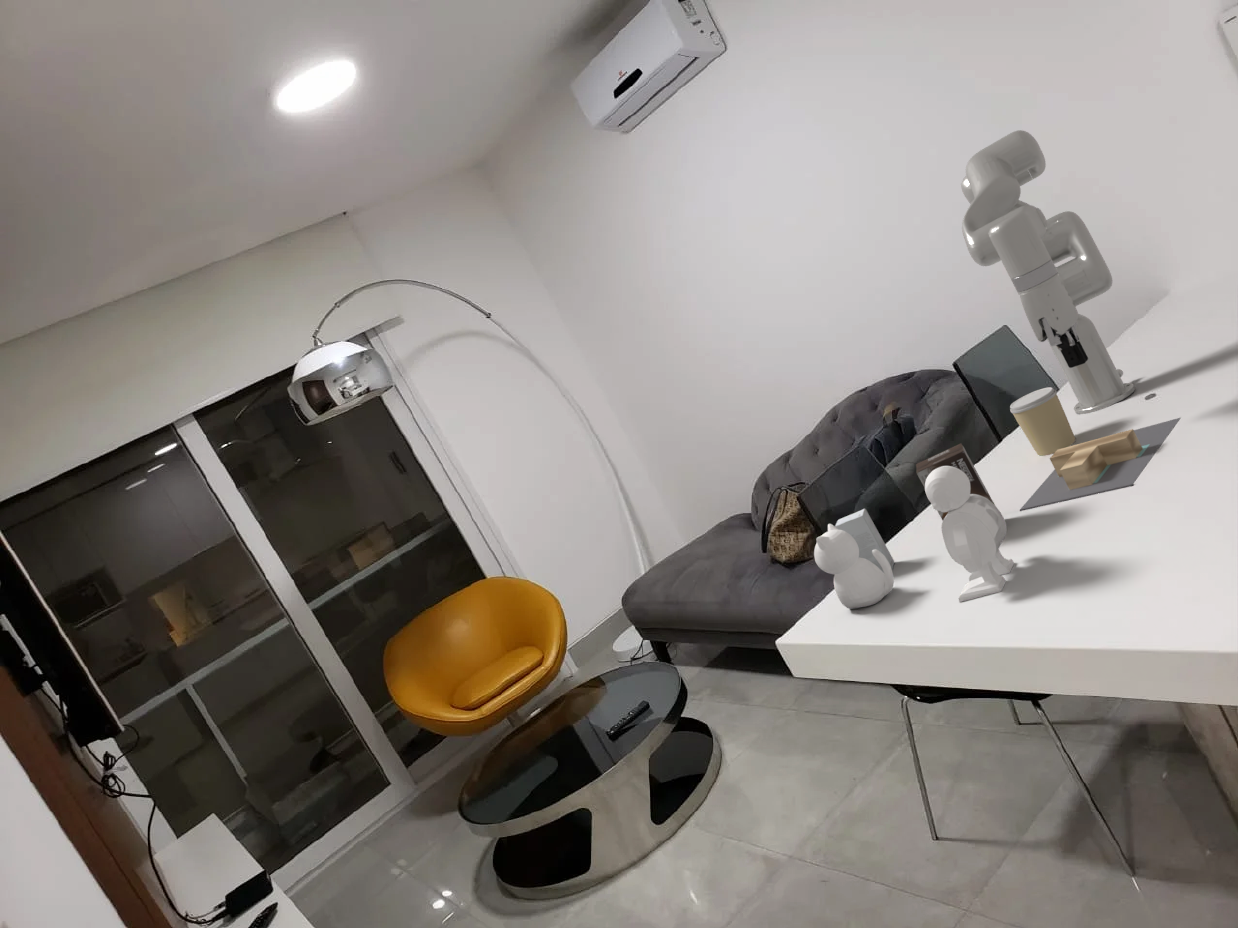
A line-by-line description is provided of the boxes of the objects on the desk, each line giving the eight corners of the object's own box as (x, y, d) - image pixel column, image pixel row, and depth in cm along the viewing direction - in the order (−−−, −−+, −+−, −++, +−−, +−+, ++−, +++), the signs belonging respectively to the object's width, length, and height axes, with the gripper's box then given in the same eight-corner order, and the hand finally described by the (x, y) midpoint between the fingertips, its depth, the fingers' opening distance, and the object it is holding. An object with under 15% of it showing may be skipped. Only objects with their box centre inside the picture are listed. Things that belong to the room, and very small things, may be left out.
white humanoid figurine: (977, 567, 147) (922, 461, 145) (1031, 553, 141) (973, 443, 139) (956, 607, 136) (896, 494, 135) (1012, 594, 130) (950, 476, 129)
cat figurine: (850, 596, 165) (813, 526, 164) (911, 579, 157) (872, 506, 156) (834, 620, 158) (795, 547, 157) (897, 603, 150) (856, 526, 149)
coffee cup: (1069, 435, 187) (1043, 385, 187) (1088, 439, 178) (1061, 387, 177) (1027, 456, 189) (1002, 406, 188) (1044, 461, 180) (1017, 409, 179)
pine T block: (1066, 468, 168) (1057, 449, 168) (1142, 448, 157) (1132, 429, 157) (1043, 496, 161) (1033, 476, 160) (1121, 477, 150) (1110, 457, 149)
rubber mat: (1075, 447, 178) (1074, 446, 178) (1181, 419, 162) (1180, 417, 162) (1020, 510, 161) (1019, 509, 161) (1133, 485, 145) (1132, 484, 145)
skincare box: (895, 561, 170) (866, 507, 169) (892, 570, 166) (863, 514, 165) (866, 572, 173) (837, 519, 172) (863, 581, 169) (833, 526, 168)
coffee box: (1003, 518, 162) (962, 441, 160) (1006, 529, 156) (965, 449, 154) (954, 538, 165) (914, 463, 164) (956, 550, 159) (915, 471, 158)
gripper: (1031, 273, 172) (1073, 356, 174) (1001, 298, 163) (1045, 385, 165) (1068, 257, 167) (1111, 342, 168) (1039, 282, 157) (1085, 372, 159)
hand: (1079, 363), depth 167 cm, fingers closed
